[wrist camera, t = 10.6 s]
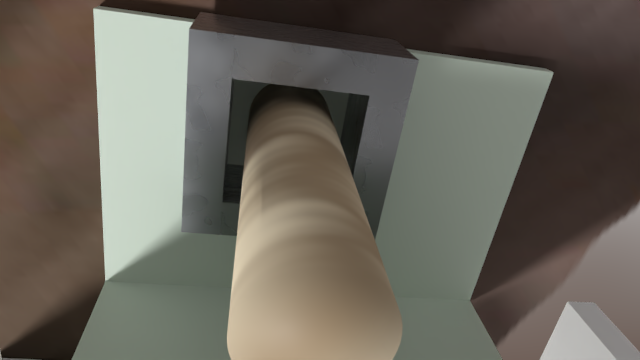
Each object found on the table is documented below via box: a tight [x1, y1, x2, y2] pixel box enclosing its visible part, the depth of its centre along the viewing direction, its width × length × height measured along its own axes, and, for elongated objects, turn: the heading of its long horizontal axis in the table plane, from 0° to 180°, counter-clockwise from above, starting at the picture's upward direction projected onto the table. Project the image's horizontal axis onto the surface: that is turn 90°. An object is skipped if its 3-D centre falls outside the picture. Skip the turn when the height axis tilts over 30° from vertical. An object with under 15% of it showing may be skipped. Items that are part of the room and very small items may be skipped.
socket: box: [181, 12, 419, 239], centre depth 23 cm, size 9×9×4 cm
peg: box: [227, 84, 403, 360], centre depth 18 cm, size 4×4×15 cm
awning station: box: [72, 6, 554, 360], centre depth 21 cm, size 22×16×14 cm
